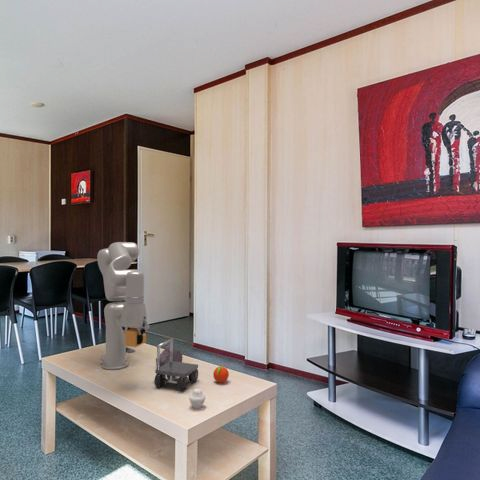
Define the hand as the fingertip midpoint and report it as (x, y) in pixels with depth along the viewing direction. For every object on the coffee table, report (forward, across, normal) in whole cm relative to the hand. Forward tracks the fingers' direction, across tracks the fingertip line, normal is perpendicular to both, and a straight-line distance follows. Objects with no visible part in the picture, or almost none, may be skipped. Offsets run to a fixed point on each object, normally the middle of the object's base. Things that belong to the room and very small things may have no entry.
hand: (134, 342), depth 164 cm
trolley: (+19, +15, +10) cm, 27 cm away
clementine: (+20, +32, +19) cm, 42 cm away
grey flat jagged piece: (+20, -40, +45) cm, 64 cm away
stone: (+20, 0, +31) cm, 37 cm away
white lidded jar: (+20, +33, -7) cm, 39 cm away
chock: (+1, 0, +1) cm, 2 cm away
